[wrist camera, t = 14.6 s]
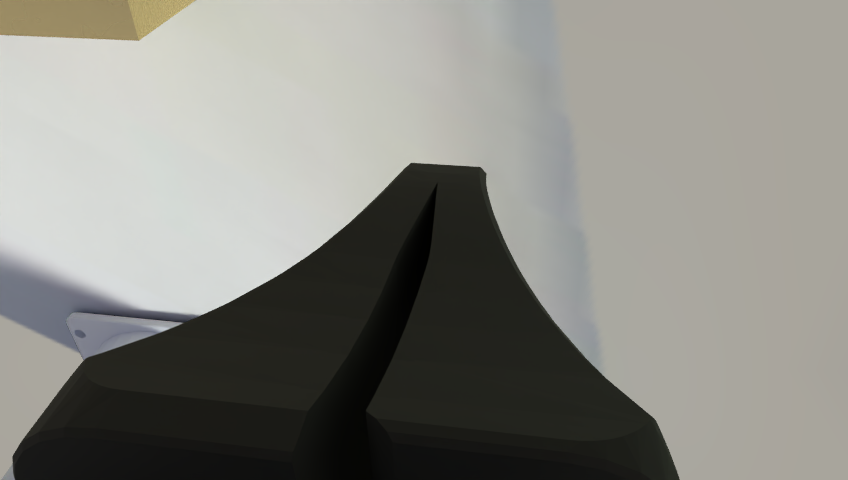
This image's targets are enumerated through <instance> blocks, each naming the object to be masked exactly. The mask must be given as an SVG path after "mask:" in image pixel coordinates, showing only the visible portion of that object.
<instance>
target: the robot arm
mask: <svg viewBox="0 0 848 480" xmlns="http://www.w3.org/2000/svg"><path fill="white" fill-rule="evenodd" d="M66 324H67V326H68V328H69V330H70V332H71V335H72V337H73V339H74V341H75V343H76V345H77V347H78V349H79V352H80V354H81V356H82V358H83V360H84V361H83V362H82V363H81V365H80V366H79V367H78V368H77V369H76V371H75V372H74V373H73V374H72V376H71V377H70V378H69V379H68V381H67V382H66V383H65V384H64V386H63V387H62V388H61V390H60V391H59V392H58V394H57V395H56V396H55V398H54V399H53V400H52V402H51V403H50V404H49V406H48V407H47V408H46V410H45V411H44V412H43V414H42V415H41V416H40V418H39V419H38V420H37V422H36V423H35V424H34V426H33V427H32V428H31V430H30V431H29V432H28V434H27V435H26V436H25V438H24V439H23V440H22V442H21V443H20V445H19V447H18V448H17V450H16V451H15V453H14V455H13V464H12V466H11V467H10V468H9V470H8V471H7V473H6V474H5V475H4V476H3V478H2V479H1V480H680V479H679V476H678V474H677V470H676V468H675V465H674V462H673V460H672V457H671V455H670V452H669V449H668V447H667V445H666V443H665V440H664V438H663V435H662V433H661V431H660V429H659V426H658V424H657V422H656V420H655V419H654V418H653V417H652V416H650V415H649V414H648V413H647V412H646V411H644V410H643V409H642V408H641V407H639V406H638V405H637V404H636V403H635V402H634V401H632V400H631V399H630V398H629V397H628V396H626V395H625V394H624V393H623V392H622V391H620V390H619V389H618V388H617V387H615V386H614V385H613V384H612V383H611V382H610V381H608V380H607V379H606V378H605V377H604V376H603V375H602V374H601V373H600V372H599V371H598V370H597V369H596V368H595V367H594V366H593V365H592V364H591V363H590V362H589V361H588V360H587V359H586V358H585V357H584V356H583V355H582V353H581V352H580V351H579V350H578V349H577V348H576V347H575V345H574V344H573V343H572V342H571V341H570V340H569V338H568V337H567V336H566V335H565V334H564V333H563V332H562V330H561V329H560V328H559V327H558V326H557V325H556V324H555V322H554V321H553V320H552V318H551V317H550V316H549V314H548V313H547V311H546V310H545V309H544V307H543V306H542V305H541V303H540V302H539V301H538V299H537V298H536V296H535V294H534V293H533V291H532V290H531V288H530V287H529V285H528V284H527V282H526V280H525V279H524V277H523V275H522V274H521V272H520V270H519V268H518V267H517V265H516V263H515V261H514V259H513V257H512V255H511V253H510V251H509V249H508V247H507V245H506V243H505V241H504V239H503V236H502V234H501V231H500V229H499V226H498V224H497V221H496V219H495V216H494V213H493V210H492V207H491V204H490V200H489V197H488V192H487V187H486V173H485V172H484V171H483V169H482V168H481V167H470V166H453V165H437V164H421V163H411V164H409V165H408V166H407V167H406V168H405V169H404V170H403V171H402V172H401V173H400V174H399V175H398V176H397V177H396V178H395V179H394V180H393V181H392V182H391V183H390V184H389V185H388V186H387V187H386V188H385V189H384V190H383V191H382V192H381V193H380V194H379V195H378V196H377V197H376V198H375V199H374V200H373V201H372V202H371V203H370V204H369V205H368V206H367V207H366V208H365V209H364V210H363V211H362V212H361V213H360V214H358V215H357V216H356V217H355V218H354V219H353V220H352V221H351V222H350V223H349V224H348V225H346V226H345V227H344V228H343V229H342V230H340V231H339V232H338V233H337V234H335V235H334V236H333V237H332V238H331V239H329V240H328V241H327V242H326V243H325V244H323V245H322V246H321V247H320V248H318V249H317V250H316V251H314V252H313V253H312V254H310V255H309V256H307V257H306V258H304V259H303V260H301V261H300V262H298V263H297V264H295V265H294V266H292V267H291V268H289V269H288V270H286V271H285V272H283V273H282V274H280V275H278V276H277V277H275V278H273V279H271V280H270V281H268V282H266V283H264V284H262V285H260V286H259V287H257V288H255V289H253V290H251V291H249V292H248V293H246V294H244V295H242V296H240V297H238V298H237V299H235V300H233V301H231V302H229V303H227V304H225V305H223V306H221V307H219V308H217V309H214V310H212V311H210V312H208V313H206V314H204V315H201V316H199V317H197V318H194V319H192V320H190V321H187V322H185V323H181V322H171V321H160V320H150V319H140V318H130V317H120V316H110V315H100V314H90V313H79V312H74V313H72V314H70V316H69V317H68V318H67V320H66Z"/></svg>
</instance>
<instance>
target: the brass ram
mask: <svg viewBox="0 0 848 480" xmlns="http://www.w3.org/2000/svg"><path fill="white" fill-rule="evenodd" d="M194 1H195V0H0V35H17V36H42V37H66V38H90V39H114V40H138V41H139V40H140V39H142V38H143V37H145V36H146V35H147V34H149V33H150V32H152V31H153V30H154V29H156V28H157V27H159V26H160V25H161V24H163V23H164V22H166V21H167V20H168V19H170V18H171V17H173V16H174V15H175V14H177V13H178V12H180V11H181V10H182V9H184V8H185V7H187V6H188V5H190V4H191V3H192V2H194Z"/></svg>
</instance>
